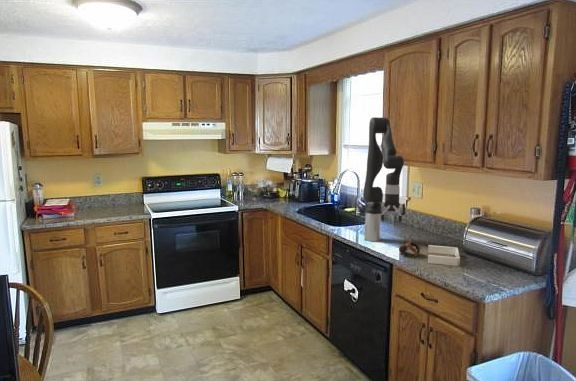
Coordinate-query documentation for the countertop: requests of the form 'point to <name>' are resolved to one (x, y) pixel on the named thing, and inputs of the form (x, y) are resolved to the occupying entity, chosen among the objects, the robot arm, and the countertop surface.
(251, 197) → the countertop surface
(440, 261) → the box
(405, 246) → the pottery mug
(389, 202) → the robot arm
